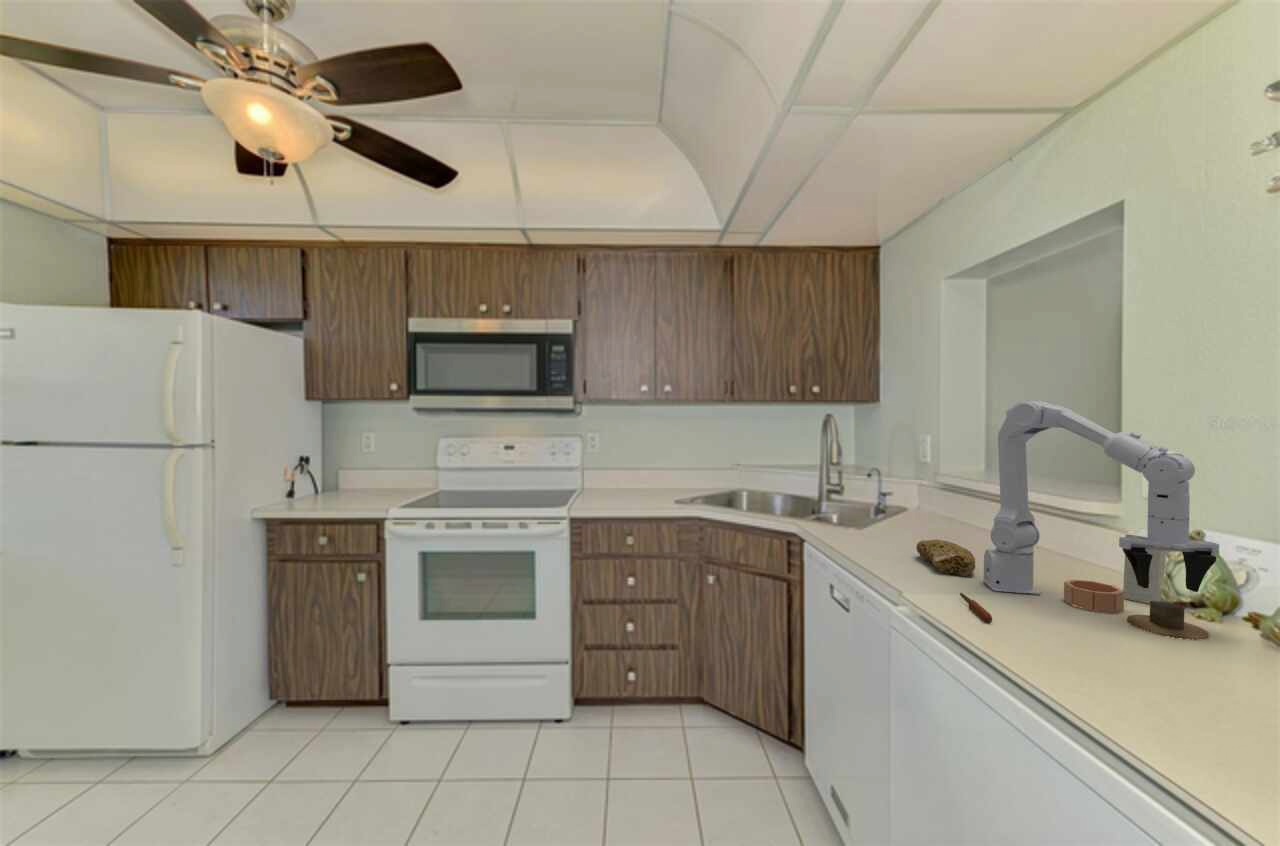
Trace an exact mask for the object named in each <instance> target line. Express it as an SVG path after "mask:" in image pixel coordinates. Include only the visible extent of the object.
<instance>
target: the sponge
mask: <svg viewBox="0 0 1280 846" xmlns="http://www.w3.org/2000/svg"><path fill="white" fill-rule="evenodd" d="M915 547H916V552H917V553H918V554H919V556H920V557H922V558H923V559H925V560H926V561H928V562H930V563H932V565H933V566H934V568H936V570H939V572H941V573H944V574H949V575H951V574H953V575H957V576H960V577H966V576H970V575H971V574H972V573H973V572H974V571H975V569H976V558H975V556H974V554H973V553H972V551H970V550H969V549H966V548H965V547H964V546H963V547H962V546H961V545H959V544H956V543H954V542H951V541H947V540H942V539H934V538H933V539H929V540H928V539H927V540H924V539H923V540H920V541H918V543H917V544H916V545H915Z"/></svg>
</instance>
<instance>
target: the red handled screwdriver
mask: <svg viewBox="0 0 1280 846" xmlns="http://www.w3.org/2000/svg"><path fill="white" fill-rule="evenodd" d="M959 596H960V597H961V598H962V599H963V600H964V601H965V602H966V603H967V605H968V608H969V610H971V609H972V612H974V614H975V615H977V617H978V616H979V617H980V618H981V619H982V620H983V621H984V623H985V622H987V623H988V624H989V623H992V622H993V617H992V614H991V613H990V612H988V611H987V610H986V609H985V608H984V607H983V606H982V605H981V604H979V602H977V601H976V600H974V599H971V598H970V597H968V596H967V595H966V594H965V593H963V592H960V593H959ZM979 617H978V618H979ZM980 618H979V619H980ZM981 619H980V620H981ZM982 620H981V621H982ZM983 621H982V622H983Z"/></svg>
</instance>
